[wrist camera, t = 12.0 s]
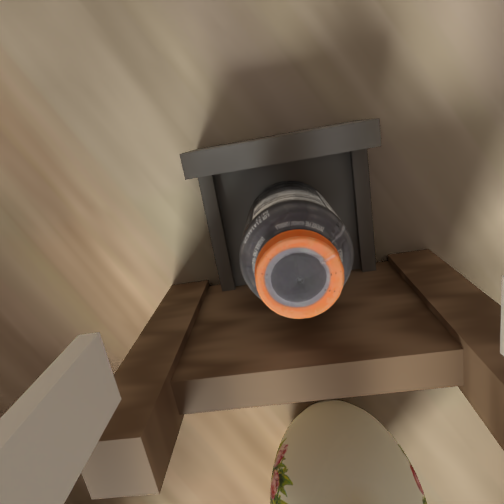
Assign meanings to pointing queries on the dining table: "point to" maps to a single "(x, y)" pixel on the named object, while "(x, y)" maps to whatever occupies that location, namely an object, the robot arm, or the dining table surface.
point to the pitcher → (341, 460)
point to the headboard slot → (294, 330)
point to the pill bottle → (295, 250)
